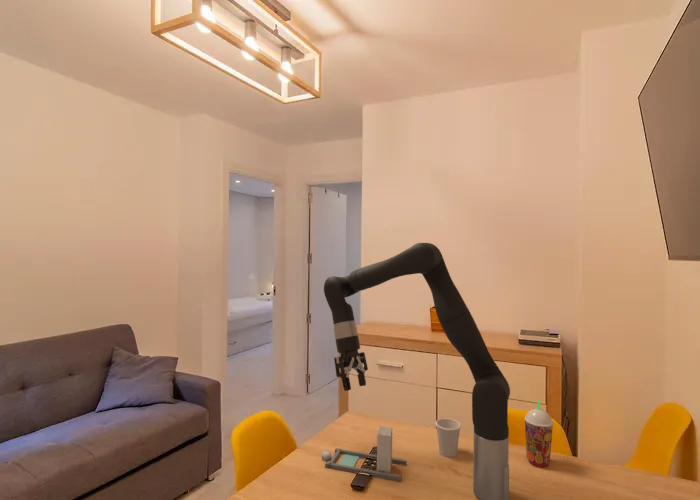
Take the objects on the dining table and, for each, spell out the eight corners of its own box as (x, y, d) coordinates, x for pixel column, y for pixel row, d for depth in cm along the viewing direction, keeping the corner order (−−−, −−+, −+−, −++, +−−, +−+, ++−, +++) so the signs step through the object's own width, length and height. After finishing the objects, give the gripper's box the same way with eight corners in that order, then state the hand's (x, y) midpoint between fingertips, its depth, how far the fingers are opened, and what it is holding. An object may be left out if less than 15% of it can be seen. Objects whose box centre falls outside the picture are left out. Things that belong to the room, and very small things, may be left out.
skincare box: (390, 475, 121) (390, 436, 121) (376, 473, 122) (376, 434, 122) (392, 464, 127) (392, 427, 127) (379, 463, 128) (379, 425, 128)
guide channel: (406, 463, 127) (406, 457, 127) (400, 481, 118) (400, 474, 118) (327, 450, 136) (327, 444, 136) (316, 465, 126) (316, 459, 126)
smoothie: (518, 459, 130) (518, 398, 130) (536, 453, 134) (537, 394, 134) (540, 472, 123) (540, 407, 122) (558, 466, 126) (559, 403, 126)
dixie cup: (460, 448, 137) (460, 419, 137) (461, 461, 129) (461, 430, 129) (435, 445, 139) (435, 416, 139) (434, 457, 131) (434, 427, 131)
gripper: (342, 336, 123) (352, 391, 119) (367, 333, 134) (377, 383, 130) (324, 340, 127) (332, 393, 123) (349, 336, 138) (358, 385, 134)
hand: (355, 388), depth 126 cm, fingers open, 8 cm apart
